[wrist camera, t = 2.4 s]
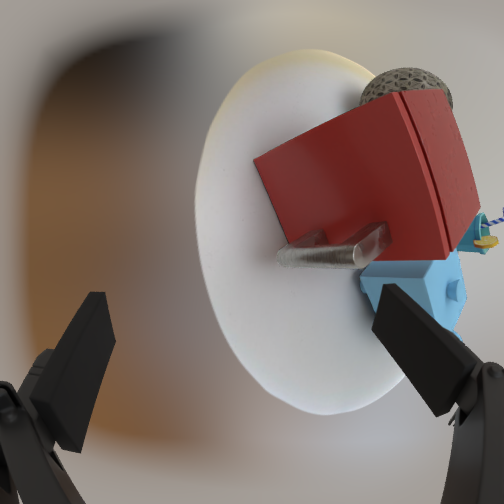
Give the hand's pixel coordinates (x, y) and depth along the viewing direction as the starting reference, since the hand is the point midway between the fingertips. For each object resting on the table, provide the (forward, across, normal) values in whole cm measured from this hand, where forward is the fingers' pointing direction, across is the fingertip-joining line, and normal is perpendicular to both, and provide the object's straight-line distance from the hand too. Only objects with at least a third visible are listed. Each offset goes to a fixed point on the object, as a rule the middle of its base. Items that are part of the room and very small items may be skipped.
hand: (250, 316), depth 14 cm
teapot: (+23, +25, -14) cm, 36 cm away
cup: (+34, +43, -7) cm, 55 cm away
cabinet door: (+19, +4, -1) cm, 19 cm away
